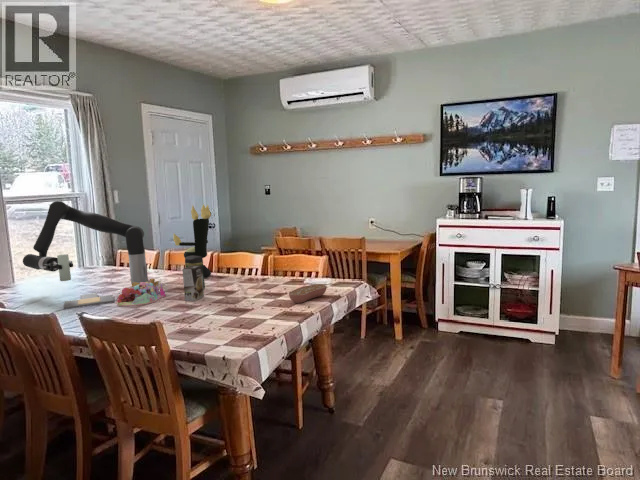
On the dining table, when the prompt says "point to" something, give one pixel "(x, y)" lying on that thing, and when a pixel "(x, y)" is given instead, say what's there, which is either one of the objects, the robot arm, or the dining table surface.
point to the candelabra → (198, 236)
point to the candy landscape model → (141, 293)
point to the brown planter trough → (307, 293)
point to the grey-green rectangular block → (64, 267)
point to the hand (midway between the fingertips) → (66, 266)
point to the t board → (88, 301)
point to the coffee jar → (195, 263)
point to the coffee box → (193, 283)
